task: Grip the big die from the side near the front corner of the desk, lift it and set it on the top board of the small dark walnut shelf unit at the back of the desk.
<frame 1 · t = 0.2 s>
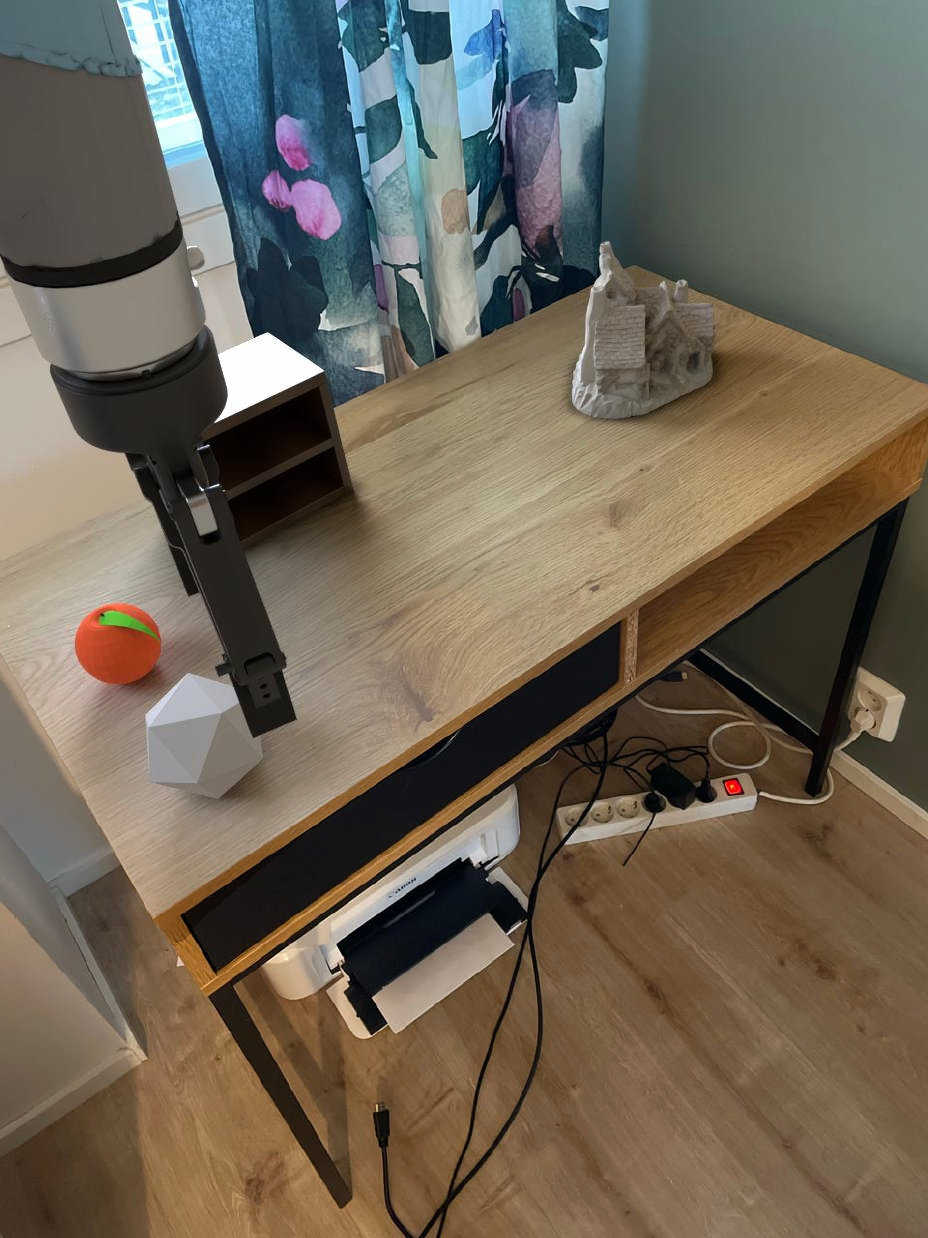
hand: (237, 650, 57), 16 cm above the table, tool pointing down, fingers open, 13 cm apart
die: (219, 768, 71), on the table
ceramic cottage: (640, 382, 103), on the table
clementine: (139, 672, 79), on the table
shelf: (262, 501, 94), on the table
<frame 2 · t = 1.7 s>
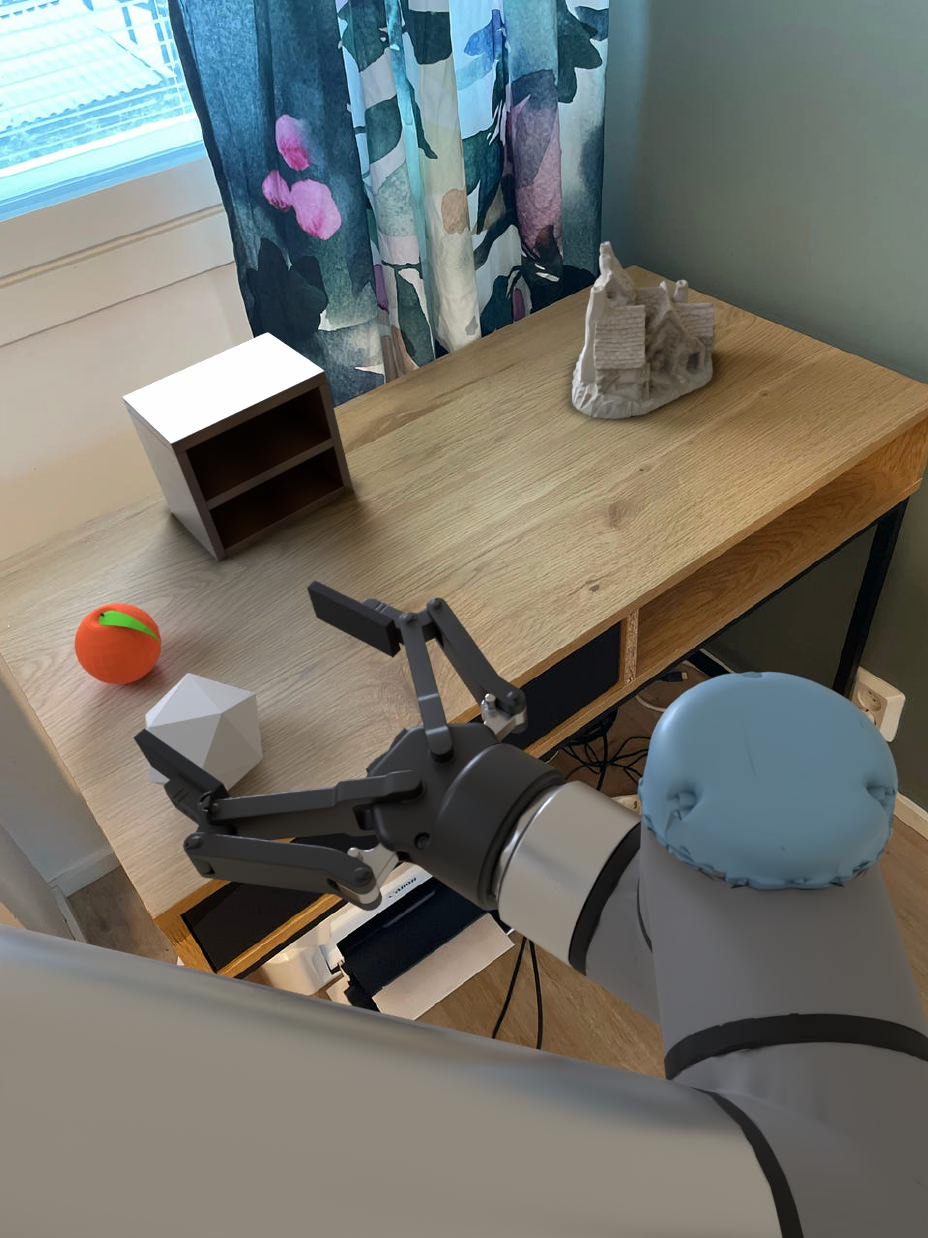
hand: (236, 668, 53), 18 cm above the table, tool horizontal, fingers open, 13 cm apart
nothing on the table moved.
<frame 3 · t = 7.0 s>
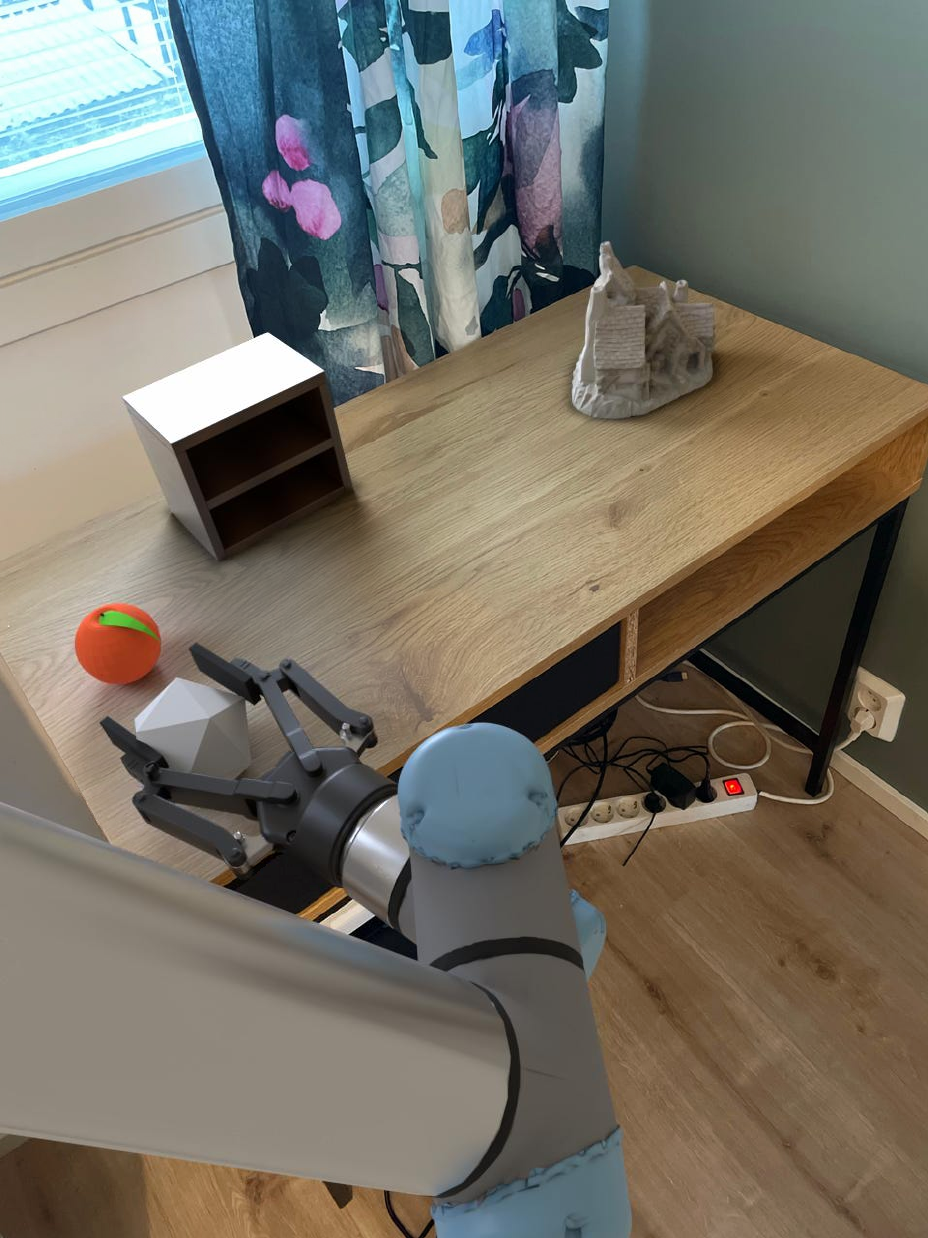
hand: (155, 692, 69), 6 cm above the table, tool horizontal, fingers closed on die, 8 cm apart
die: (209, 772, 71), on the table, touching gripper
everything else where it was.
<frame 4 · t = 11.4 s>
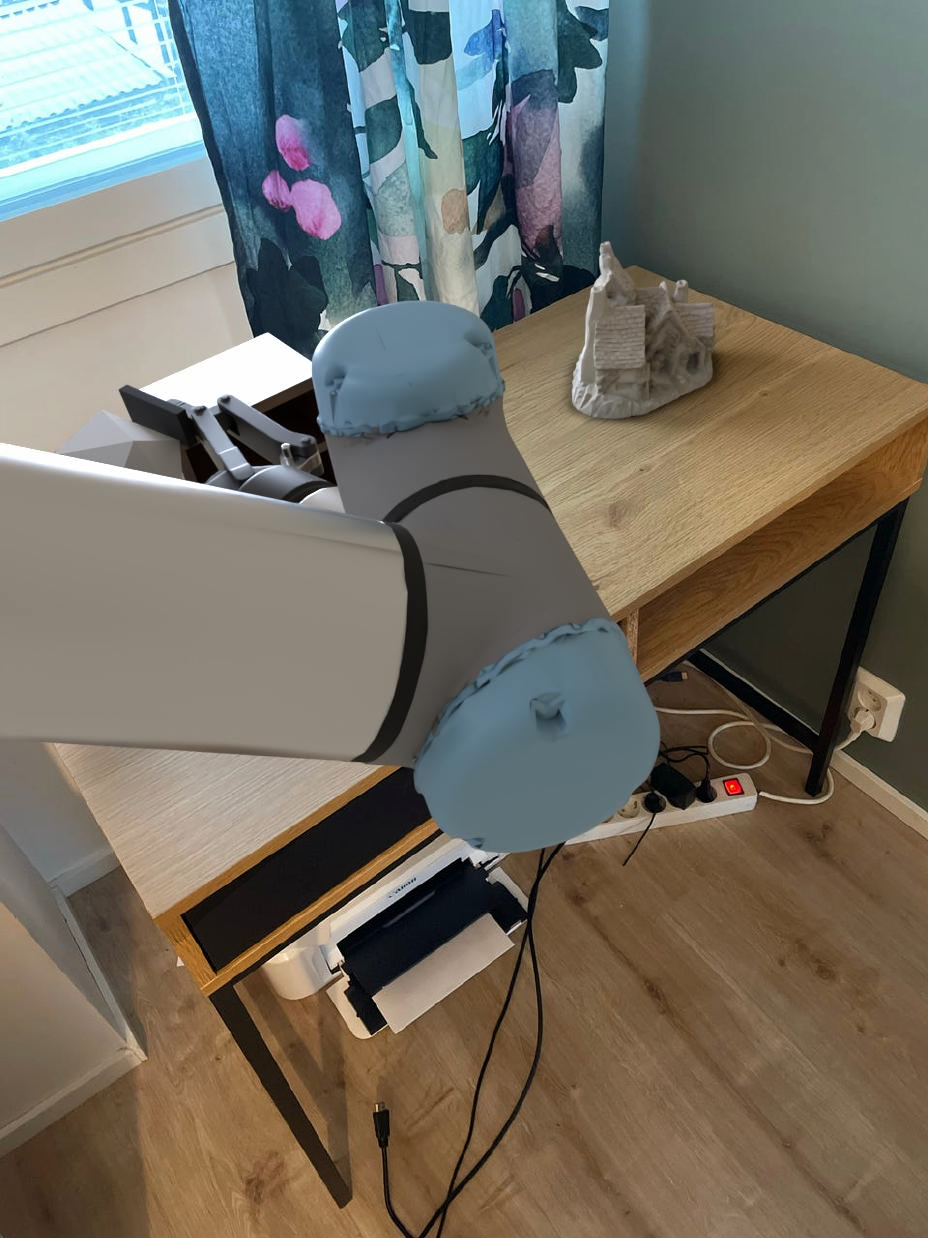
hand: (80, 434, 62), 24 cm above the table, tool horizontal, fingers closed on die, 8 cm apart
die: (141, 531, 63), point 18 cm above the table, touching gripper
everything else where it was.
when the fingers open (20 cm above the table, at t = 16.2 s): die stays where it is, resting on shelf.
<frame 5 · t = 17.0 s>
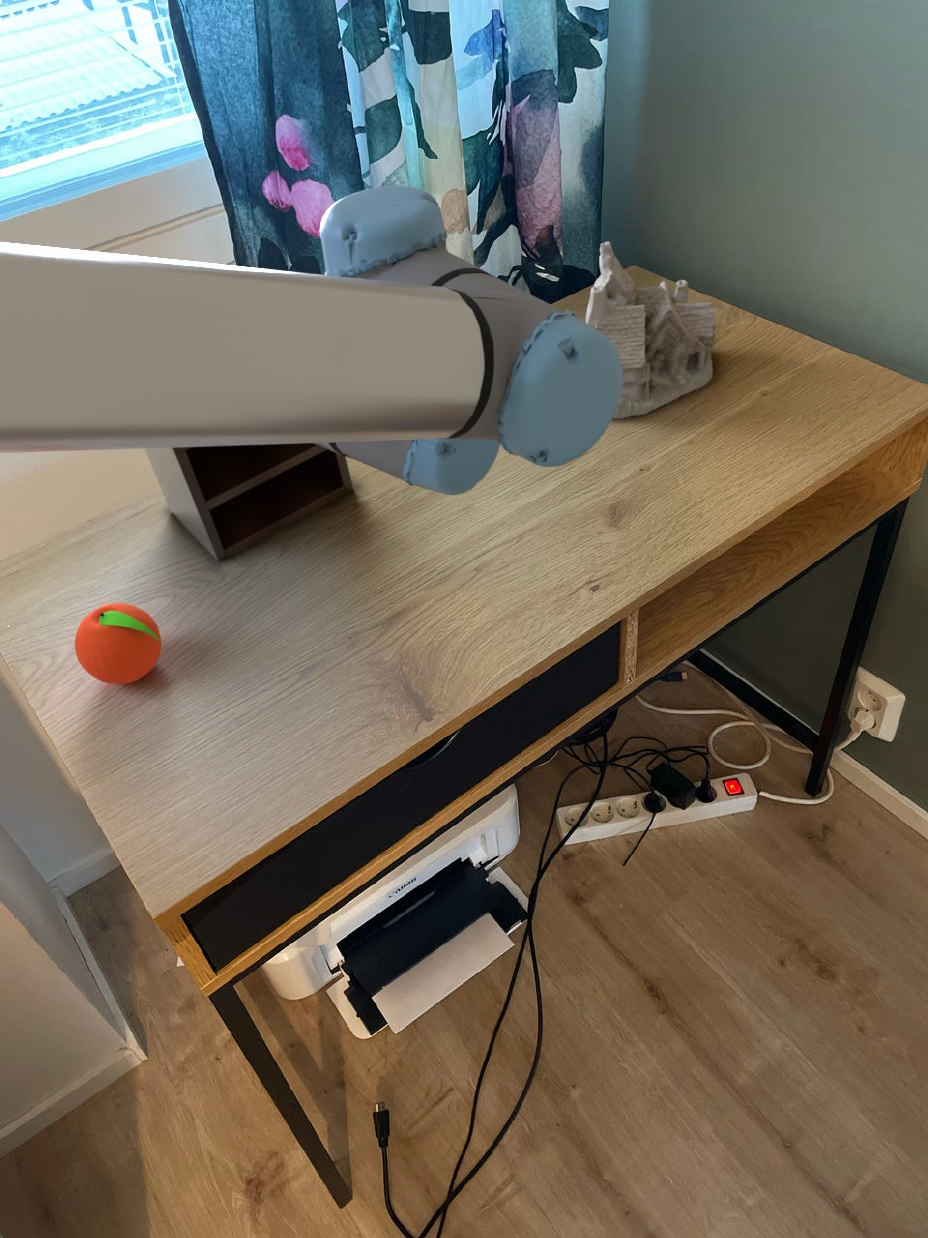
hand: (144, 330, 79), 21 cm above the table, tool horizontal, fingers open, 13 cm apart
die: (184, 411, 82), point 14 cm above the table, touching shelf
everything else where it was.
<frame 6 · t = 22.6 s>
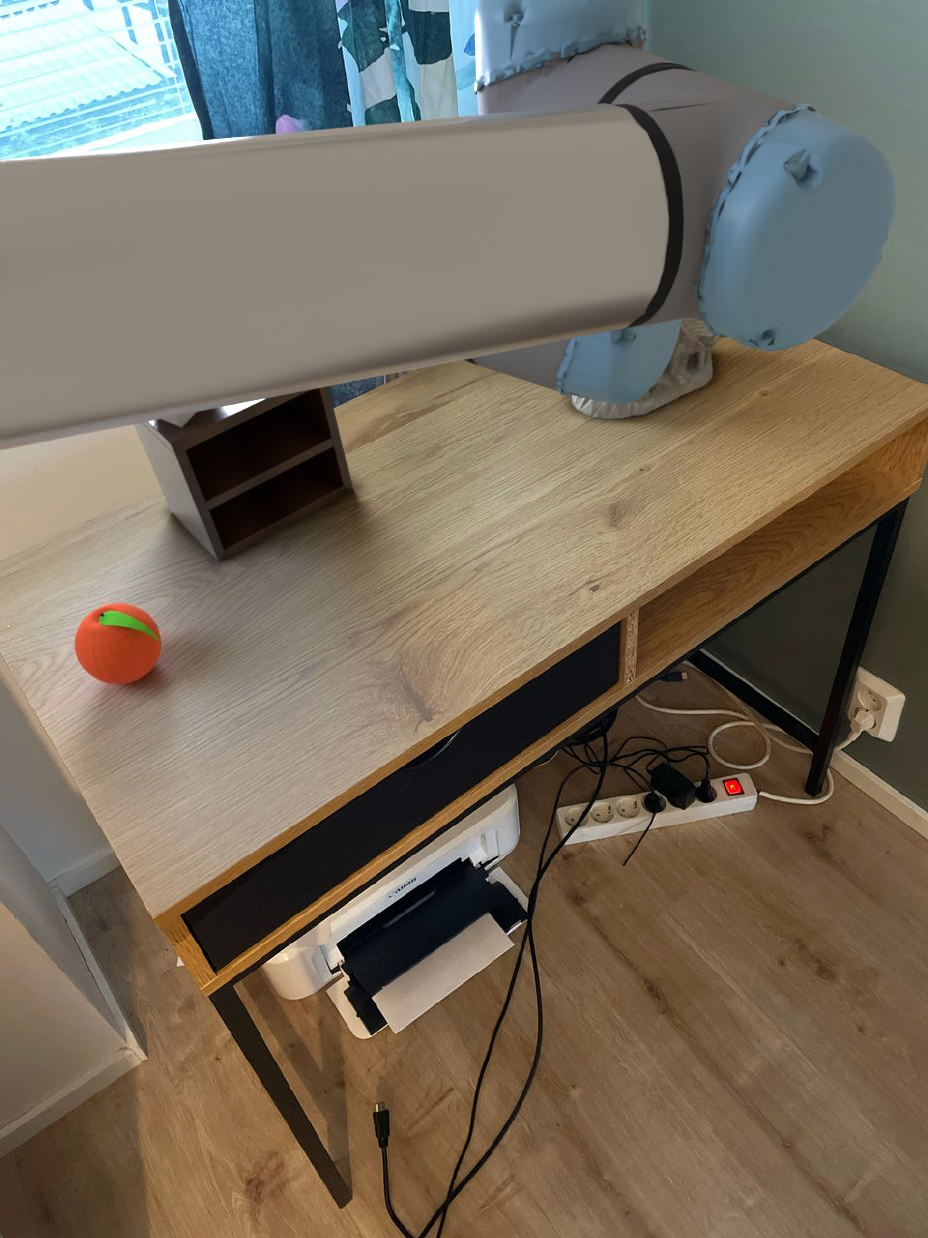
hand: (200, 225, 64), 32 cm above the table, tool horizontal, fingers open, 13 cm apart
nothing on the table moved.
at the end: die inside the target area on the shelf (4.4 cm from its centre), point 13.8 cm above the shelf's base; the gripper is holding nothing; die tilted 0° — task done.
